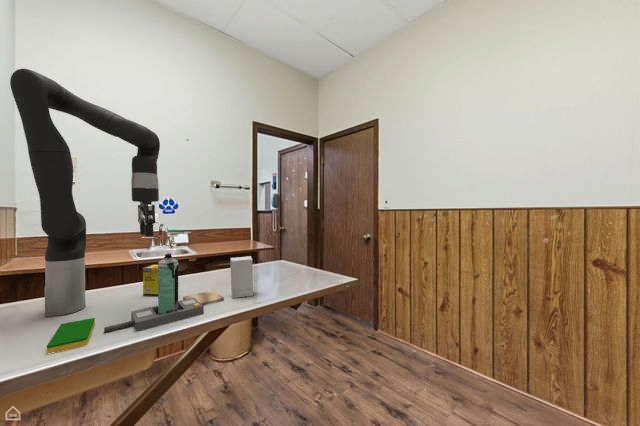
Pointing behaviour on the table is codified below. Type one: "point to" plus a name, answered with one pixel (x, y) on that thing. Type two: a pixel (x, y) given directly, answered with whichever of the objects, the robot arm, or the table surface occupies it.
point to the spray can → (167, 285)
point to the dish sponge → (71, 335)
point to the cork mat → (206, 297)
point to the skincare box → (241, 277)
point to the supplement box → (150, 280)
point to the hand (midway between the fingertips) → (146, 235)
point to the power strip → (160, 316)
